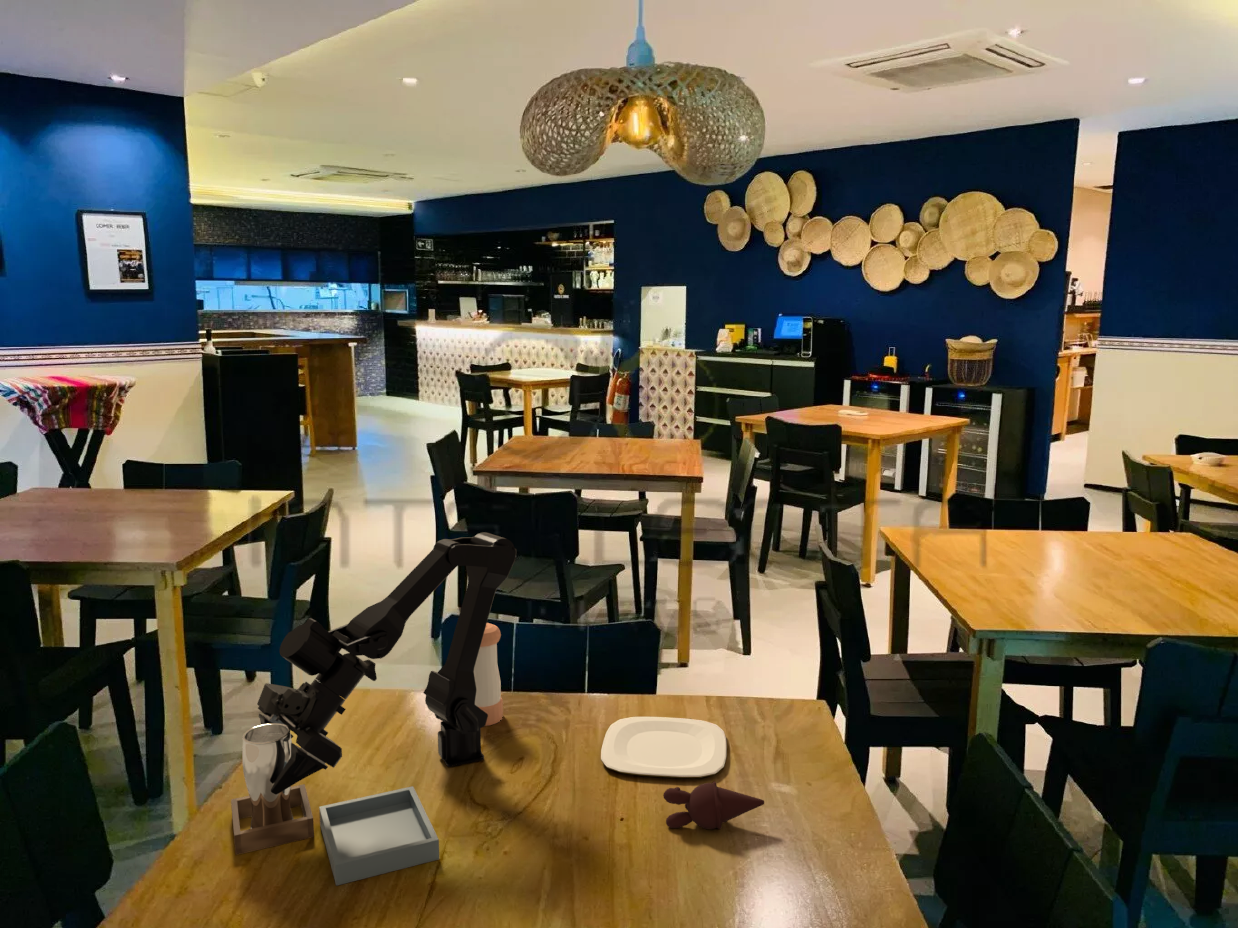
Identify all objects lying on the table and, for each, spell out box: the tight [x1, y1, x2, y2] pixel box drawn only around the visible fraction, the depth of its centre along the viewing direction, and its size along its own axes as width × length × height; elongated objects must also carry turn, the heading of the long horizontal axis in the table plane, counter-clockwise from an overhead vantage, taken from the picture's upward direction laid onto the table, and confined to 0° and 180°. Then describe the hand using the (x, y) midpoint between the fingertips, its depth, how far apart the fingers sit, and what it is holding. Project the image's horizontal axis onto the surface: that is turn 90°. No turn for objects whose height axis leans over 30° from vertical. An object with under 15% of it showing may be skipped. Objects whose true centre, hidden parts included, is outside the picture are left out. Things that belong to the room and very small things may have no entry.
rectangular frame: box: [230, 784, 315, 856], centre depth 133 cm, size 11×11×3 cm
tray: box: [318, 785, 440, 887], centre depth 130 cm, size 14×16×3 cm
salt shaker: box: [474, 622, 504, 727], centre depth 169 cm, size 7×7×19 cm
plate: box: [600, 716, 727, 779], centre depth 158 cm, size 22×22×2 cm
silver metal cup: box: [241, 723, 295, 829], centre depth 132 cm, size 7×7×15 cm
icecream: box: [662, 780, 765, 830], centre depth 134 cm, size 7×7×15 cm
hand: (261, 780), depth 132 cm, fingers open, 9 cm apart
